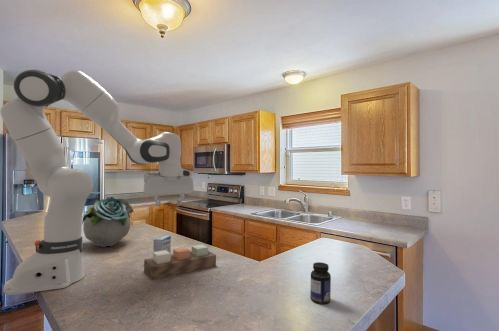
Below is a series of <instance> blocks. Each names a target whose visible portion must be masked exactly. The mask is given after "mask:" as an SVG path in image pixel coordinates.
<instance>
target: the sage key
mask: <svg viewBox="0 0 499 331" xmlns="http://www.w3.org/2000/svg"><path fill="white" fill-rule="evenodd" d="M208 251H209V247H208V246H207V245H204V244H196V245H192V246H191V250H190V252H191V254H192V255H194V256H195V257H200V256H205V255H208Z"/></svg>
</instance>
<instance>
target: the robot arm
mask: <svg viewBox="0 0 499 331" xmlns="http://www.w3.org/2000/svg"><path fill="white" fill-rule="evenodd" d="M13 89H14V92H15V94H16V96H17V97H16V98H15V99H12V100H10V101H8V102H6V103H4V104H3V105H2V107H0V115H1V118H2V121H3V124H4V125H5V127H6V130H7V132H8V133H9V135H10V137H11V139H12V141H13V142H14V143H15V144H16V146H17V147H18V149H19V151H20V152H21V153H22V155H23V157H24V158H25V160H26V162H27V163H28V166H29V168H30V170H31V172H32V176H33V177H34V179H35V181H36V185H37V189H38V190H39V191H40V192H41V193H42V194H44V195H45V196H46V197H48V198H51V199H50V204H49V207H48V211H47V212H46V214H45V216H44V218H43V220H44V221H43V239H42V240H41V239H37V240H35V241H34V242H33V243H34V244H33V245H34V246H35V252H34V253H32V255H30V256H29V257H27V258H25V260H22V262H20V263H19V264H18V265H17V267H15V270H14V273H13V275H12V278H10V279H9V280H7V281H6V282H5V283H4V285H3V289H2V290H3V291H2V292H3V293H4V294H5V295H8V296H14V295H22V294H30V293H36V292H44V291H51V290H58V289H59V290H60V289H64V288H67V287H69V286H70V285H72V284H73V283H77V282H78V281H81V280H82V279H84V278H85V276H86V273H85V269H84V266H83V260H82V258H83V257H82V253H83V245H84V244H83V241H84V240H83V237H82V226H83V224H82V221H83V215H84V209H85V207H86V206H85V205H86V202H87V200H88V199H87V198H88V197H89V196H90V195H91V193H92V191H93V190H94V186H95V185H94V180H93V178H92V176H91V175H90V174H89V173H87V172H86V171H83V170H81V169H78V168H70V166H69V165H68V163H67V159H66V156H65V148H64V145H63V144H62V142H61V140H60V139H59V137H58V135H57V133H56V132H55V130H54V129H53V127H52V125H51V123H50V121H49V120H48V118H47V116H46V114H45V110H46V108H47V107H49V106H51V105H53V104H55V103H56V102H59V101H63V100H64V101H66V102H68V103H69V104H71V105H72V106H74V108H76V109H77V110H78V111H80V112H81V113H82V115H84V116H86V118H88V119H89V120H91V121H92V122H94V123H95V124H96V125H98V126H99V127H100V128H102V129H103V130H104V131H105V132H106V133H107V134H109V135H110V137H112V138H113V140H115V141H116V142H117V143H118V144H119V145H120V146H121V147H122V148H123V149H124V150H125V153H126V155H127V157H128V158H129V160H130V161H131V162H132V163H134V164H136V165H145V164H155V163H158V171H148V172H146V173H145V174H144V175H143V182H144V185H143V194H144V195H145V196H152V198H153V199H154V201H155V207H161V206H162V202H161V201H159V200H158V198H159V196H162V195H163V196H164V195H165V196H166V195H179V199H178V200H177V201H176V202H177V203H176V205H177V206H181V205H183V200H184V198H185V196H186V195H185V194H187V195H188V194H192V193H193V192H194V189H195V188H194V179H193V177H192V175H193V172H192V171H191V170H189V169H185V168H182V164H181V163H182V162H181V156H182V142H181V141H182V140H181V137H180V136H179V135H178V134H177V133H174V132H169V131H163V132H161V133H159V134H158V135H156V136H153V137H150V138H147V139H139V138H138V137H136V136H135V135H134V134H133V133H132V132H131V131H130V130H129V129H128V128H127V127H126V126H125V125H124V124H123V123H122V121H121V120H120V119H121V118H120V107H119V104H118V102H117V101H116V100H115V98H114V97H113V96H112V95H111V94H110V93H109V92H108V91H107V90H106V89H105V88H104V87H103V86H101V85H100V84H99V82H97V81H95V80H94V79H93V78H92V77H90V76H89V75H87V74H86V73H84V72H83V71H82V70H77V69H74V70H68V71H67V72H65V73H64V74H62V75H61V76H57V75H54V74H52V73H50V72H47V71H46V70H43V69H28V70H24V71H22V72H21V73H19V74H17V76H16V77H15V79H14V81H13Z"/></svg>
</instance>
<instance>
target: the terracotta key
mask: <svg viewBox="0 0 499 331" xmlns="http://www.w3.org/2000/svg"><path fill="white" fill-rule="evenodd" d="M190 252H191V249H189V248H187V247H186V246H184V247H178V248H173V249H172V255H173V258H174V259H176V260H177V261H178V260H183V259H189V258H190Z"/></svg>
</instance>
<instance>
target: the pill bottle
mask: <svg viewBox="0 0 499 331" xmlns="http://www.w3.org/2000/svg"><path fill="white" fill-rule="evenodd" d="M312 269H313V270H312V271H311V272H310V292H309V293H310V300H311V301H312V302H314V303H315V304H318V305H319V304H320V305H326V304H329V303H330V301H331V290H332V288H331V286H332V285H331V282H332V280H331V279H332V278H331V277H332V275H331V273H330V272H329V264H328V263H325V262H314V263H313V264H312Z"/></svg>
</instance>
